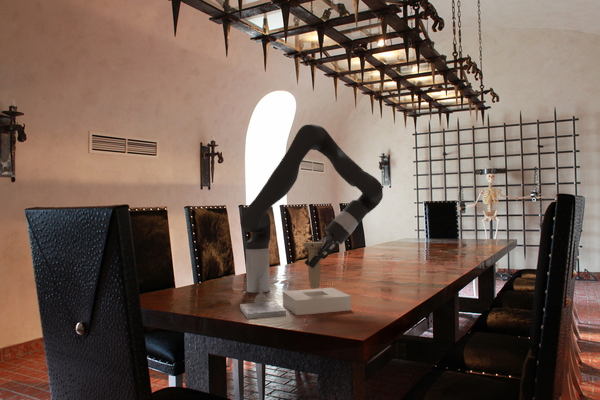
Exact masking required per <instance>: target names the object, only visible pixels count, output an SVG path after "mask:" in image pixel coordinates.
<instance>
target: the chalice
mask: <svg viewBox="0 0 600 400" xmlns="http://www.w3.org/2000/svg"><path fill="white" fill-rule="evenodd" d="M249 252H250V253H251V265H252V268H253V271H254V272H255V274H256V276H257V277H259V282H258V283H259V293H257V294H256V296H255V298H254V300H253V303H262V302H269V300H268V297H267V296H266V294H264V292H262V289H263V287H262V283H263V282H262V277H263V276H264V275H265V273H266V271H267V268H268V265H269V266H270V258H269V259H268V253H270V249H269V250H256V251H249Z"/></svg>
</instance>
